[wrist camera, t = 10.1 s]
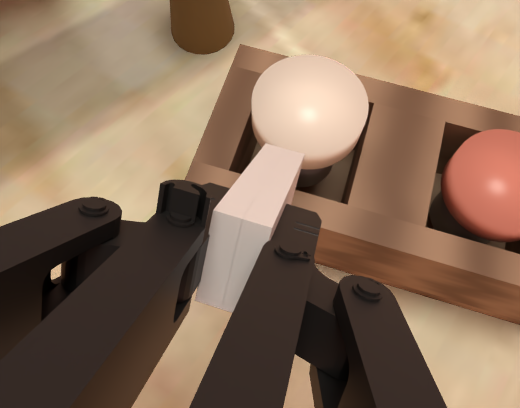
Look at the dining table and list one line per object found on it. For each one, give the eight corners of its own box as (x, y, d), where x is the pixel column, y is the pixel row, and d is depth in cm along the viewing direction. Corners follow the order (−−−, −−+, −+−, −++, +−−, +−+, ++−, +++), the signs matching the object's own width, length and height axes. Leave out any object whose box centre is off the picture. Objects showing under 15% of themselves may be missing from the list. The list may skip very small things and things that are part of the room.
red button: (408, 246, 35) (444, 213, 28) (425, 164, 37) (461, 116, 31) (504, 274, 34) (563, 247, 28) (514, 189, 36) (571, 145, 30)
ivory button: (239, 184, 34) (235, 135, 27) (268, 105, 36) (270, 42, 30) (334, 211, 33) (353, 168, 27) (356, 129, 36) (379, 70, 29)
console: (196, 226, 38) (182, 186, 30) (242, 105, 42) (240, 44, 35) (523, 325, 35) (595, 308, 28) (538, 185, 39) (604, 138, 32)
